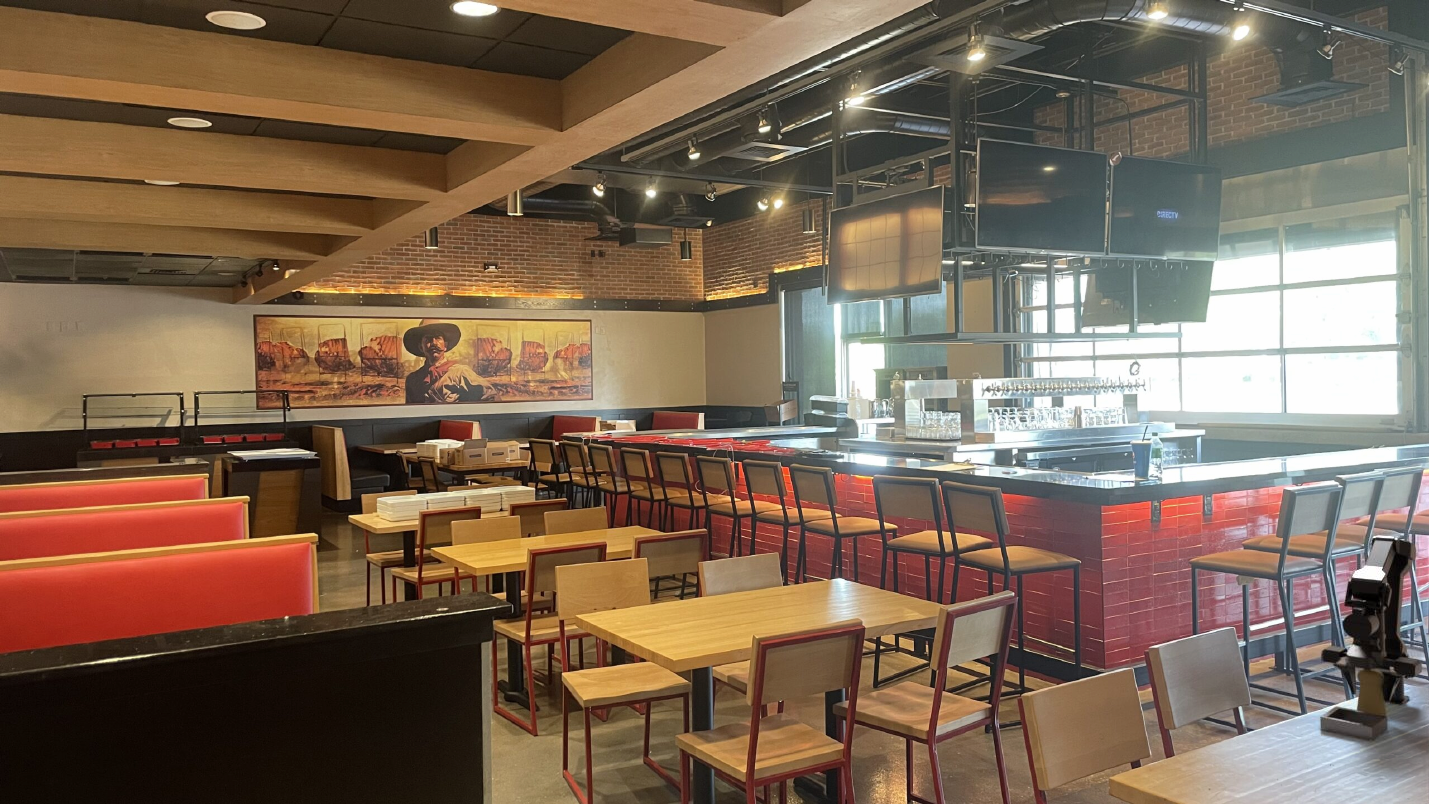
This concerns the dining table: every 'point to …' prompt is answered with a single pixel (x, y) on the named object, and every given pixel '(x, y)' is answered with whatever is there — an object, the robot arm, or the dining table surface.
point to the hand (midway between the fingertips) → (1371, 697)
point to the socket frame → (1353, 723)
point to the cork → (1371, 692)
